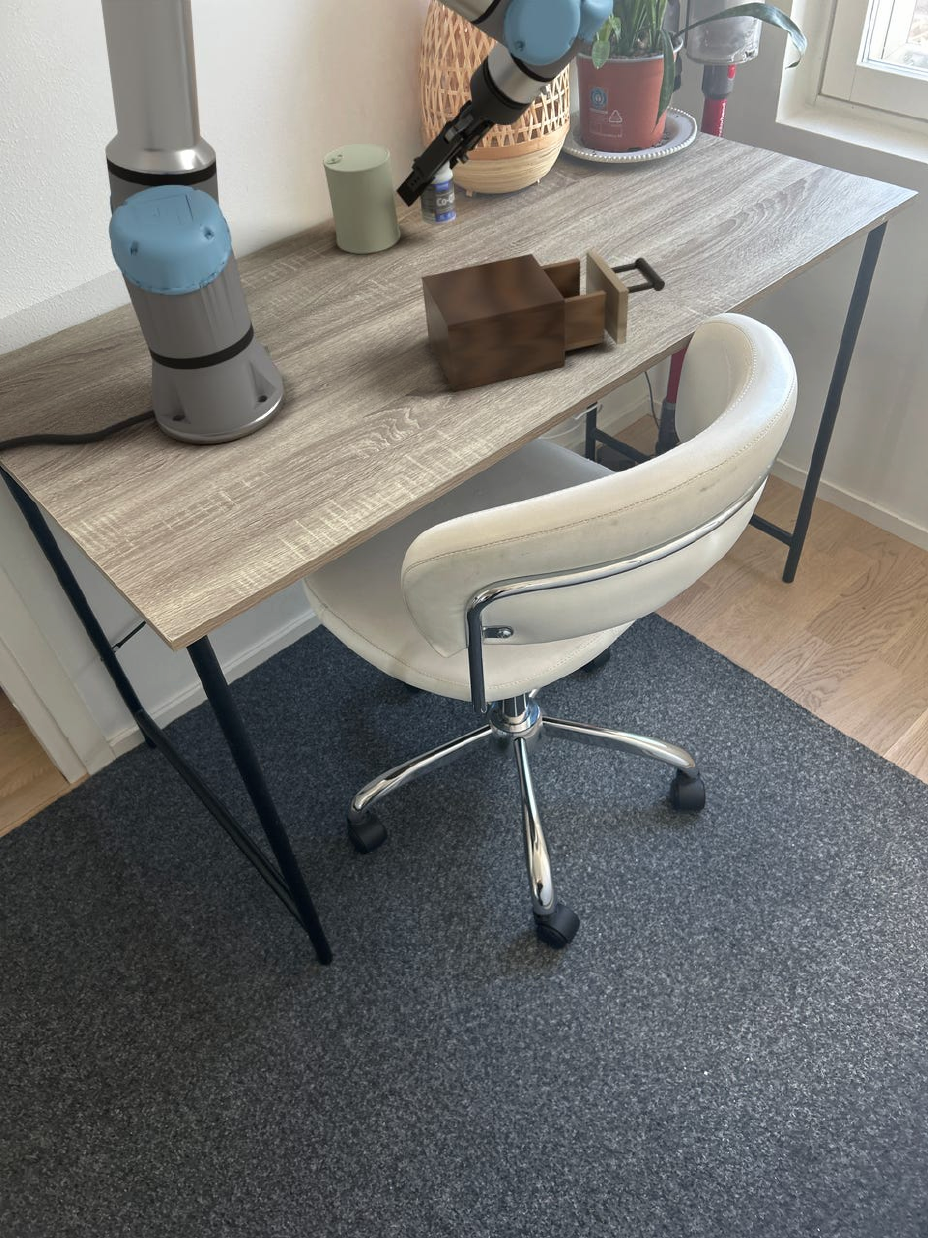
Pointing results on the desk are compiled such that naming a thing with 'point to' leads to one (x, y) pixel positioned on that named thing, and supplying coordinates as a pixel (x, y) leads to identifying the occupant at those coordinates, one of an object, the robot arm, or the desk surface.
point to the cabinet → (495, 321)
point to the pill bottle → (439, 198)
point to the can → (362, 197)
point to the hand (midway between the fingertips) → (415, 189)
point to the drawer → (597, 298)
